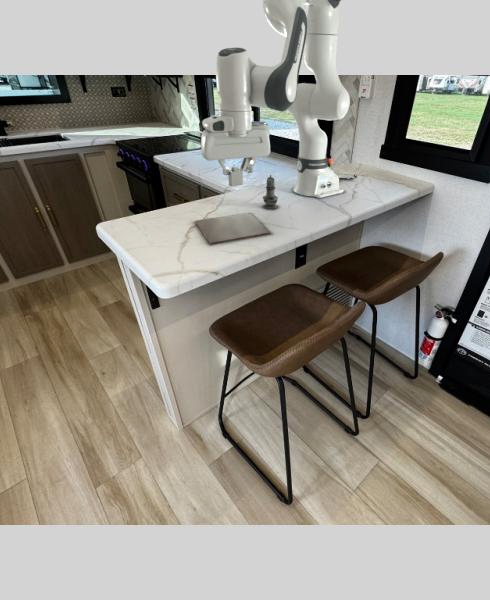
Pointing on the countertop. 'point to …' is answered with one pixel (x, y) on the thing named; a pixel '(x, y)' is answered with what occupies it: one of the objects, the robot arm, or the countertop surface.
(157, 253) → the countertop surface
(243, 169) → the lighter
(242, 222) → the walnut board
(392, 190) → the countertop surface
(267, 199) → the tarnished pewter finial
